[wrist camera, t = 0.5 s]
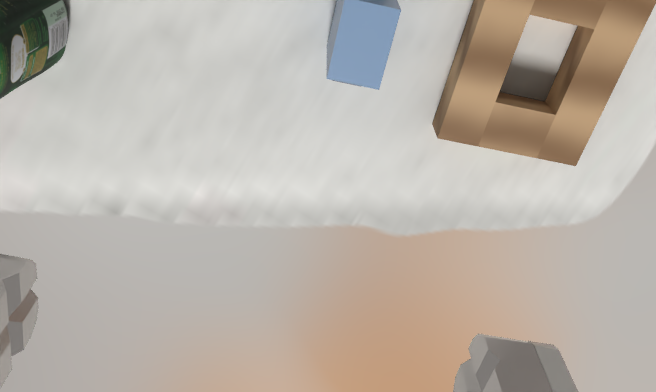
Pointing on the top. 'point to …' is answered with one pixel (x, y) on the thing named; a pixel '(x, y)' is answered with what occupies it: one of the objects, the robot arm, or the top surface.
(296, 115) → the top surface
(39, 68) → the coffee jar
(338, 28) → the block
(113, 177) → the top surface
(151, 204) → the top surface
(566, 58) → the wooden base block
